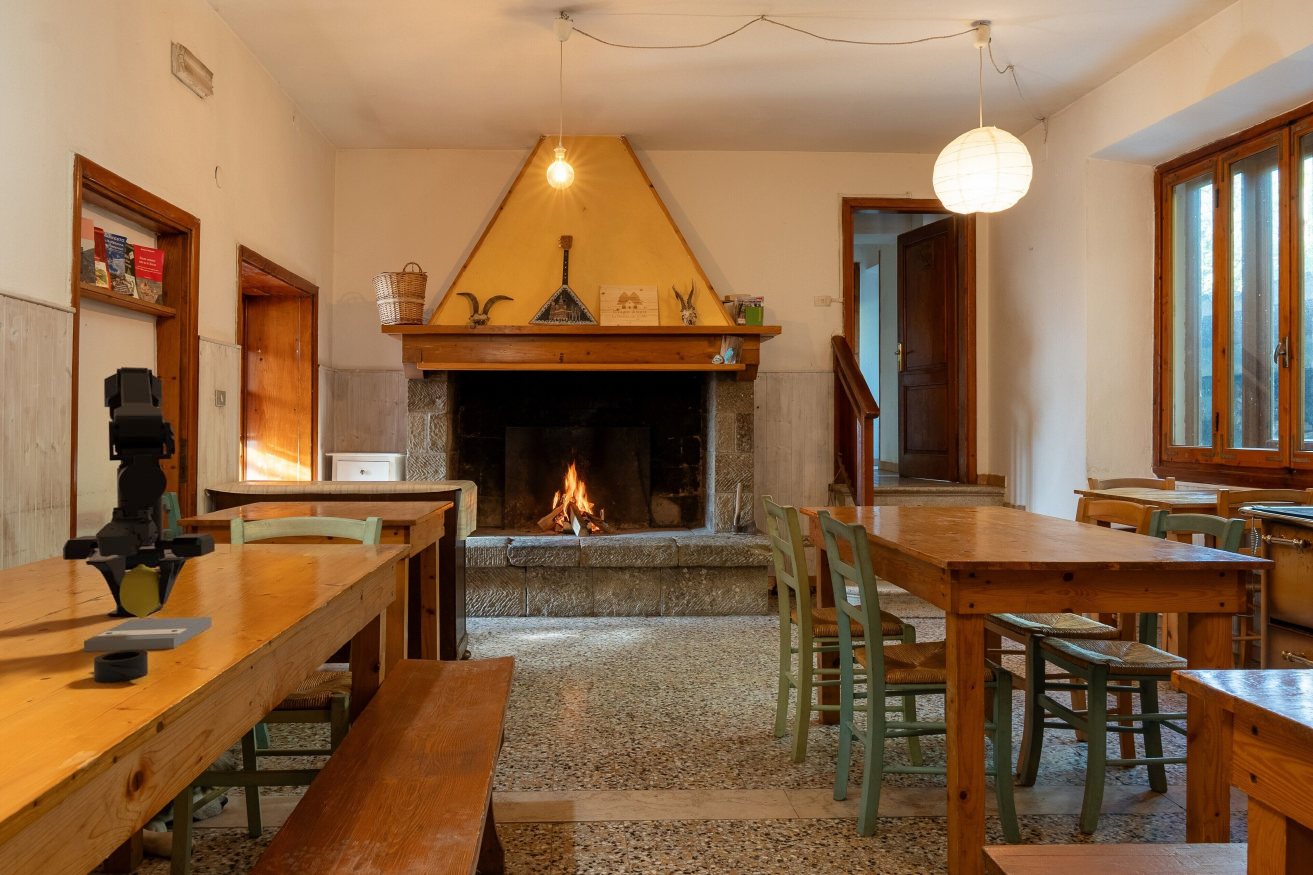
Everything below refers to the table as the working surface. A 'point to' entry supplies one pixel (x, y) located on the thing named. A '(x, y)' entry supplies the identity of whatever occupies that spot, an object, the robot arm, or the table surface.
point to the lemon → (140, 591)
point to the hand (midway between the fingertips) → (141, 604)
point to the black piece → (120, 666)
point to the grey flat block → (148, 634)
